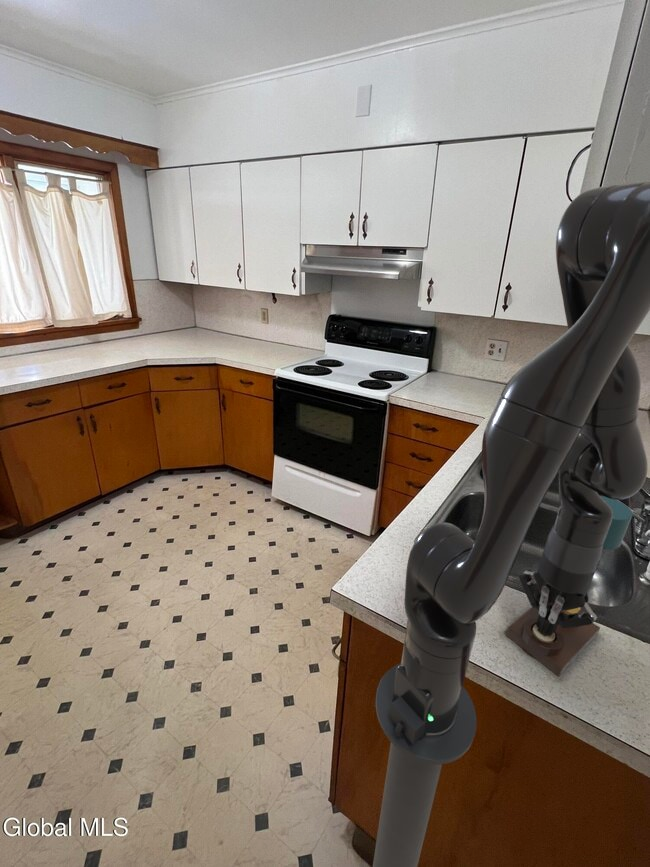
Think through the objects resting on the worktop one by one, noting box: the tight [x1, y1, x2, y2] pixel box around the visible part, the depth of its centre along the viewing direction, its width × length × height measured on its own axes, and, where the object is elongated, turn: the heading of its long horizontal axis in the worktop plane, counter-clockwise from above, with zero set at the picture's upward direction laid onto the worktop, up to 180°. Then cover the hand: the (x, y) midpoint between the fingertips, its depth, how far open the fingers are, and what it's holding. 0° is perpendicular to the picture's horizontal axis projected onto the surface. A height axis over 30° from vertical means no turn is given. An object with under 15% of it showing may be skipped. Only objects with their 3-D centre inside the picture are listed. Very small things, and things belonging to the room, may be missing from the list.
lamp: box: [564, 495, 634, 615], centre depth 75 cm, size 7×7×23 cm
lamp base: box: [505, 606, 601, 677], centre depth 78 cm, size 15×10×4 cm
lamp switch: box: [532, 625, 555, 643], centre depth 75 cm, size 4×4×2 cm
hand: (544, 631), depth 75 cm, fingers closed
